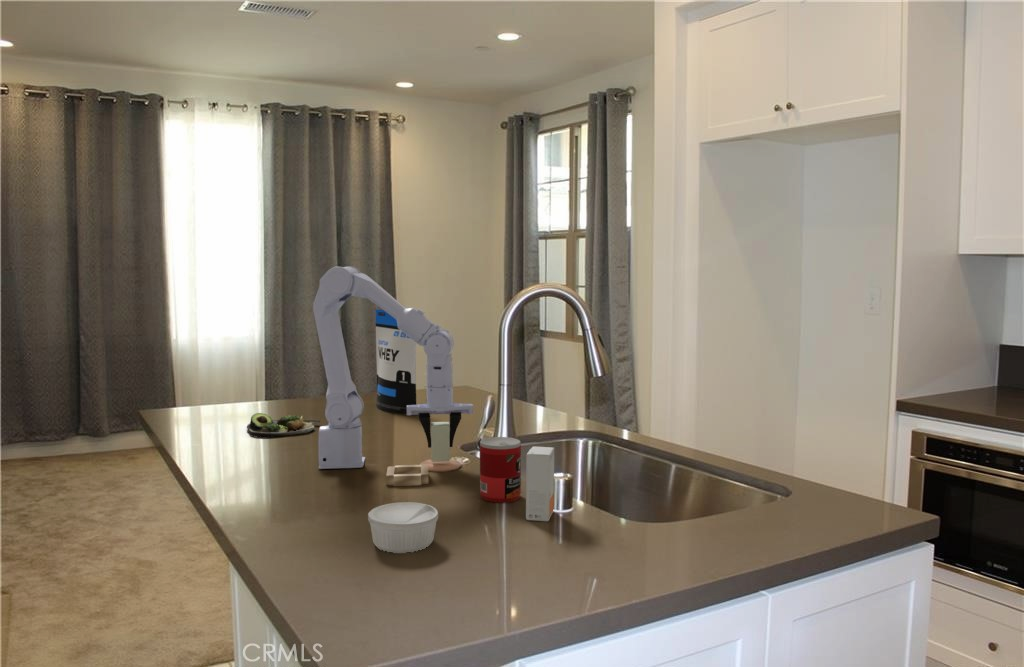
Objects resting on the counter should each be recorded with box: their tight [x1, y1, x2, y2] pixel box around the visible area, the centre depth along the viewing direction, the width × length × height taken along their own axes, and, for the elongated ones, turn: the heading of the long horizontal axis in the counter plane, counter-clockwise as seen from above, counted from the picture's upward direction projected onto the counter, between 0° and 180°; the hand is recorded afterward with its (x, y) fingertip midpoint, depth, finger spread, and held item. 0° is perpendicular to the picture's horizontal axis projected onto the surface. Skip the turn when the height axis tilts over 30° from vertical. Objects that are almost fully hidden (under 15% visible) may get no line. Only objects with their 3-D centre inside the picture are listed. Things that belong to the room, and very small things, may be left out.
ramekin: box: [367, 501, 439, 554], centre depth 128 cm, size 11×11×5 cm
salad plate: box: [246, 412, 321, 438], centre depth 213 cm, size 19×18×5 cm
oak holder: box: [385, 464, 429, 487], centre depth 165 cm, size 8×8×2 cm
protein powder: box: [375, 308, 417, 415], centre depth 241 cm, size 10×24×30 cm, turn 38°
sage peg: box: [430, 421, 451, 462], centre depth 175 cm, size 4×4×8 cm
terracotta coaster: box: [419, 458, 462, 473], centre depth 175 cm, size 9×9×1 cm
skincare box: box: [525, 446, 555, 522], centre depth 141 cm, size 6×4×12 cm
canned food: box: [479, 436, 522, 504], centre depth 152 cm, size 8×8×11 cm
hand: (440, 446), depth 175 cm, fingers closed on sage peg, 4 cm apart
